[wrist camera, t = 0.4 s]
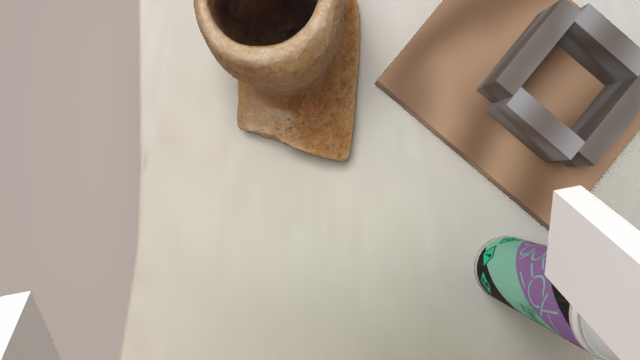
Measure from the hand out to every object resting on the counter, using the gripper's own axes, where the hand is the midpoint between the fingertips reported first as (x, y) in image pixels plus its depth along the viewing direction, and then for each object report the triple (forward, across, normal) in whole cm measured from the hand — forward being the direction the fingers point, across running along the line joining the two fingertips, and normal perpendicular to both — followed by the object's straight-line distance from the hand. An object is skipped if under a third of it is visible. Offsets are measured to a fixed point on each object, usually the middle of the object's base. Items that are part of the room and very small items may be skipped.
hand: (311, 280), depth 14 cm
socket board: (+32, -23, +9) cm, 40 cm away
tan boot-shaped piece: (+36, -3, +5) cm, 36 cm away
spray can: (+25, -19, +23) cm, 39 cm away
